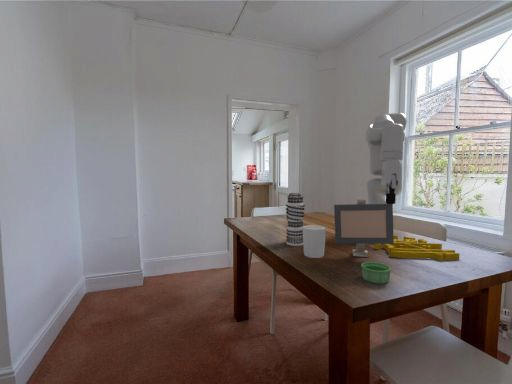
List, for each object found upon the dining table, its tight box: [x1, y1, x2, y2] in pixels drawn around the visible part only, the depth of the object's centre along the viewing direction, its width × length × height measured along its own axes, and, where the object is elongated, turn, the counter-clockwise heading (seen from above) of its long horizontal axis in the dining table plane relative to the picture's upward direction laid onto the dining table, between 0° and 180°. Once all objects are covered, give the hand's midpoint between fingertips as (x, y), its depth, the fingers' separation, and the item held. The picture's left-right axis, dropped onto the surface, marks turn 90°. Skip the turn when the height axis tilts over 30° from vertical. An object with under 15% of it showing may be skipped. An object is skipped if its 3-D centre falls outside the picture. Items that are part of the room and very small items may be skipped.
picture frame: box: [333, 203, 394, 245], centre depth 109 cm, size 2×22×16 cm, turn 74°
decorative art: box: [374, 234, 461, 262], centre depth 123 cm, size 34×3×30 cm
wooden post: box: [351, 198, 370, 258], centre depth 112 cm, size 4×6×24 cm
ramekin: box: [360, 261, 392, 284], centre depth 87 cm, size 9×9×4 cm
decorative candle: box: [285, 192, 306, 247], centre depth 132 cm, size 9×9×25 cm
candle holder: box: [302, 224, 327, 259], centre depth 113 cm, size 10×10×12 cm
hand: (390, 203), depth 105 cm, fingers closed
